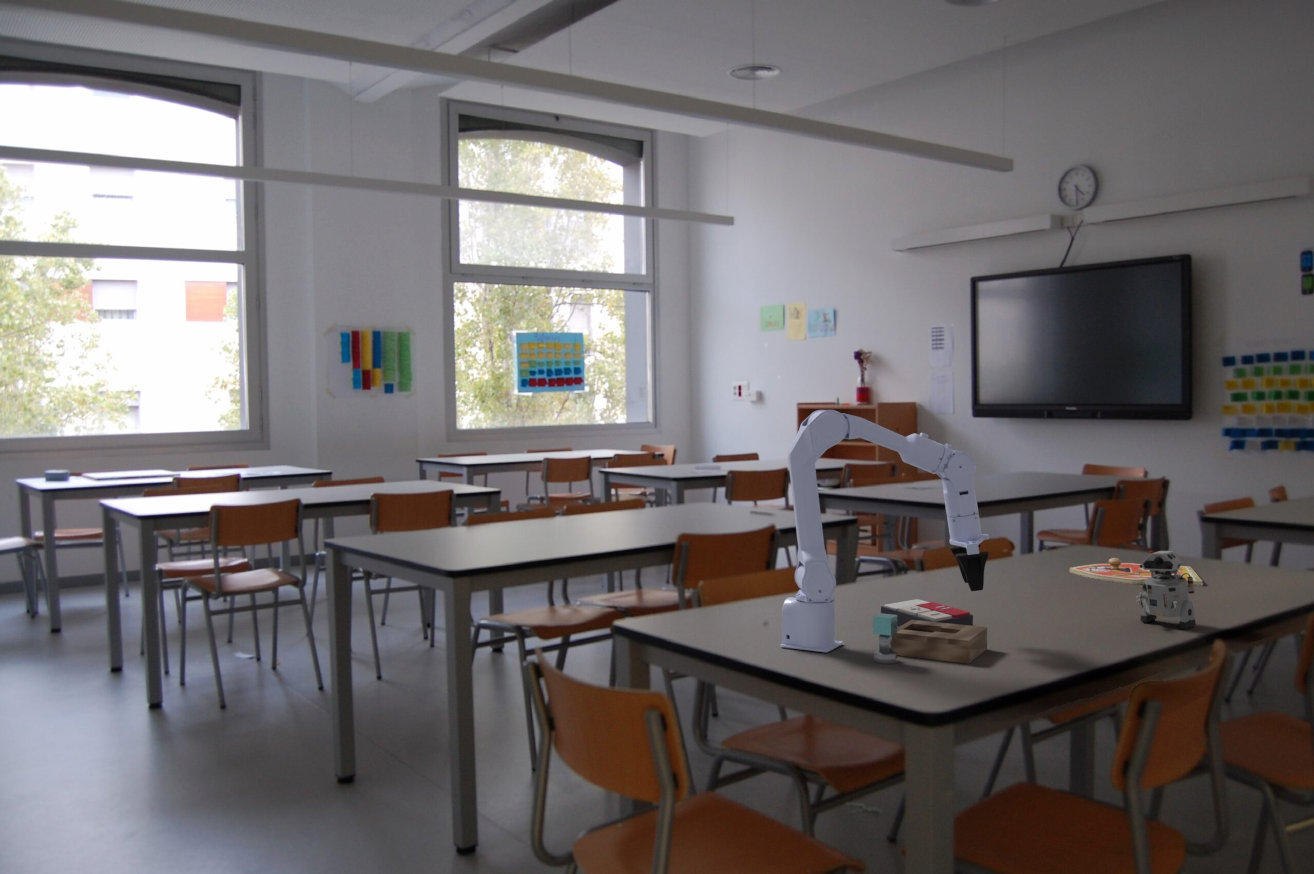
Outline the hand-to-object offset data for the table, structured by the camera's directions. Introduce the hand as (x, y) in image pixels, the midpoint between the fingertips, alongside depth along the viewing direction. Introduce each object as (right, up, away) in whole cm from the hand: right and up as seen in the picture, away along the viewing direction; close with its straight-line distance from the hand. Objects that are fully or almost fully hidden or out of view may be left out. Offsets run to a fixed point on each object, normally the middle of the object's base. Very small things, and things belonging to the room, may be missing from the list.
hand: (973, 586), depth 190 cm
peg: (-19, -11, -12) cm, 25 cm away
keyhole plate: (-8, -11, -6) cm, 15 cm away
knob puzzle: (+63, -8, +71) cm, 95 cm away
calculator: (-4, -11, +17) cm, 21 cm away
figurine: (+41, -10, +12) cm, 44 cm away
